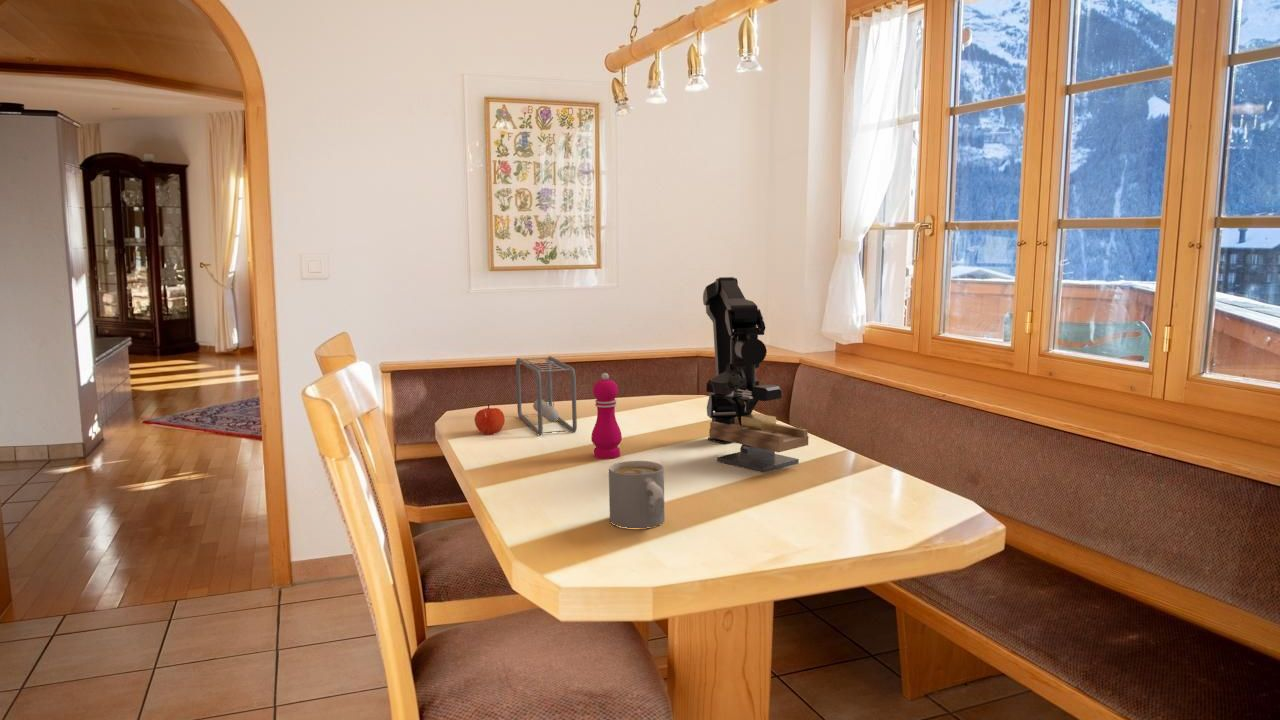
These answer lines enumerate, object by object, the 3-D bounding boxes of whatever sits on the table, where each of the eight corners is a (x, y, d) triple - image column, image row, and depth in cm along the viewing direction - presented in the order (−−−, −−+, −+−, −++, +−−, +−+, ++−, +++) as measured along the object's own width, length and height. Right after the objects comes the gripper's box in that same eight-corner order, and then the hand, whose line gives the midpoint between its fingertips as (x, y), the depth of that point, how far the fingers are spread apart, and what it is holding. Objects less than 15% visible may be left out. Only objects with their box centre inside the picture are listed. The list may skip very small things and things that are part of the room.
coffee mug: (603, 516, 161) (602, 463, 159) (653, 510, 164) (653, 458, 162) (625, 538, 148) (624, 481, 147) (679, 531, 151) (678, 476, 150)
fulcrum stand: (717, 461, 199) (717, 440, 199) (752, 452, 207) (752, 432, 206) (763, 472, 189) (763, 450, 188) (798, 463, 196) (798, 441, 196)
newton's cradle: (577, 433, 232) (575, 368, 229) (539, 437, 228) (536, 370, 226) (552, 413, 260) (550, 355, 257) (517, 416, 256) (515, 357, 254)
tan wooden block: (741, 431, 197) (741, 416, 197) (756, 428, 201) (756, 413, 200) (761, 435, 193) (761, 420, 192) (775, 432, 196) (776, 416, 196)
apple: (500, 436, 229) (498, 407, 228) (470, 436, 230) (469, 406, 229) (509, 430, 237) (508, 401, 236) (481, 430, 238) (479, 401, 237)
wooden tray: (709, 437, 202) (709, 421, 202) (738, 430, 208) (738, 415, 208) (778, 452, 186) (778, 435, 186) (808, 445, 193) (808, 428, 192)
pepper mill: (586, 457, 205) (584, 374, 202) (601, 451, 211) (599, 370, 209) (612, 460, 202) (610, 375, 199) (627, 454, 208) (625, 371, 205)
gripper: (689, 358, 200) (689, 425, 202) (749, 366, 186) (749, 437, 188) (723, 354, 207) (723, 418, 209) (783, 361, 193) (782, 430, 195)
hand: (742, 425), depth 200 cm, fingers closed
